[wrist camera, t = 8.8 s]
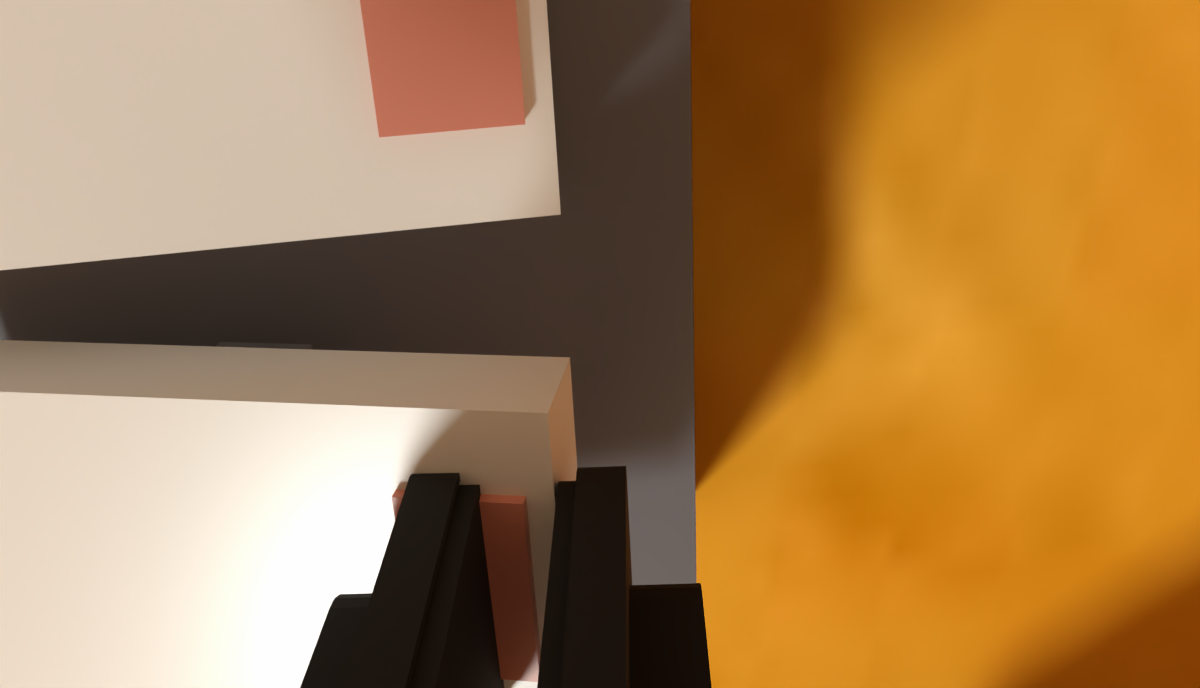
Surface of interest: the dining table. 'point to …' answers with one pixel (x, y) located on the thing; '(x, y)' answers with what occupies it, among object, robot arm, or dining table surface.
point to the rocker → (252, 500)
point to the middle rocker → (266, 122)
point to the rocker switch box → (484, 275)
